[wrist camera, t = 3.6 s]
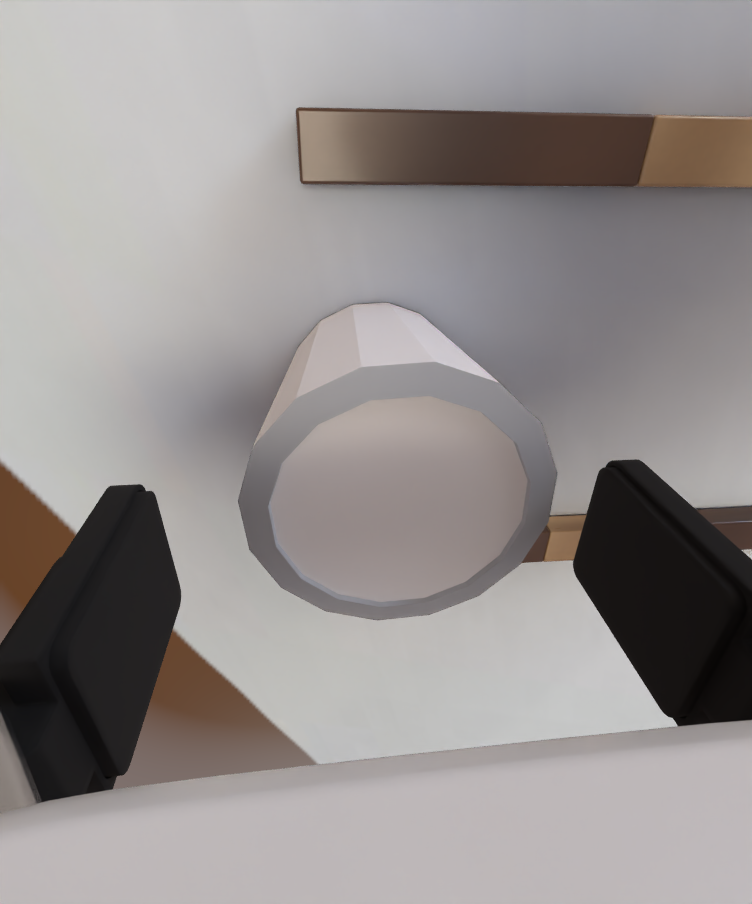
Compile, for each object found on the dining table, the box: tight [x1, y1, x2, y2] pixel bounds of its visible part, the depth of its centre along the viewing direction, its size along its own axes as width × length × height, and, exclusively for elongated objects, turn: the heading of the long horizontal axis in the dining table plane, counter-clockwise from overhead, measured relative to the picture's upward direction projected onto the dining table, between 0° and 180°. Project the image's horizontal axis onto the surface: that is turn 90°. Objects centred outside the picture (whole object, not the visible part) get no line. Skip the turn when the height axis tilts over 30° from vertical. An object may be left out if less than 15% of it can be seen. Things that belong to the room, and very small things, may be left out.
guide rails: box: [296, 107, 752, 563], centre depth 17 cm, size 22×15×1 cm
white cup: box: [238, 303, 557, 620], centre depth 13 cm, size 7×7×7 cm
